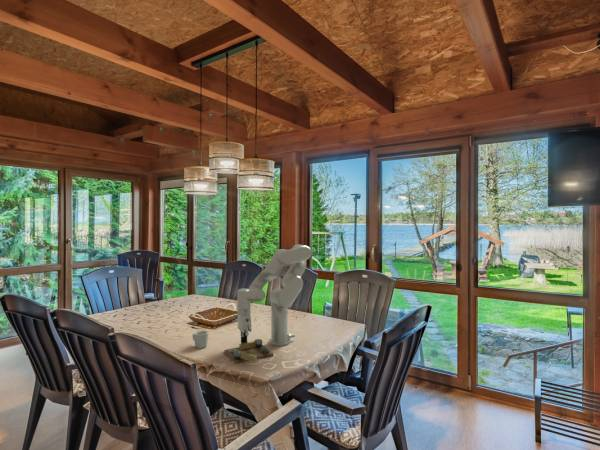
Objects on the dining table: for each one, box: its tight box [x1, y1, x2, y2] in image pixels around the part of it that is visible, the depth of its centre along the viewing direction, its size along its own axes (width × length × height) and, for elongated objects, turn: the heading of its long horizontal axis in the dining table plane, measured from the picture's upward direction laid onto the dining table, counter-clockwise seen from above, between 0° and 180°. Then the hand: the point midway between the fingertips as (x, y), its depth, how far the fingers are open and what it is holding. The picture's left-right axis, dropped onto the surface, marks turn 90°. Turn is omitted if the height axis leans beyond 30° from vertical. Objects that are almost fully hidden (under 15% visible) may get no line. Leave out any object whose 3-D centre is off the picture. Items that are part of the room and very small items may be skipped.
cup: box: [192, 330, 209, 349], centre depth 201 cm, size 11×8×8 cm
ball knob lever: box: [238, 338, 263, 350], centre depth 194 cm, size 13×4×3 cm, turn 120°
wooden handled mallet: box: [234, 350, 258, 363], centre depth 178 cm, size 13×4×3 cm, turn 62°
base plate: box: [223, 344, 274, 365], centre depth 189 cm, size 21×18×4 cm
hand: (244, 343), depth 198 cm, fingers closed
